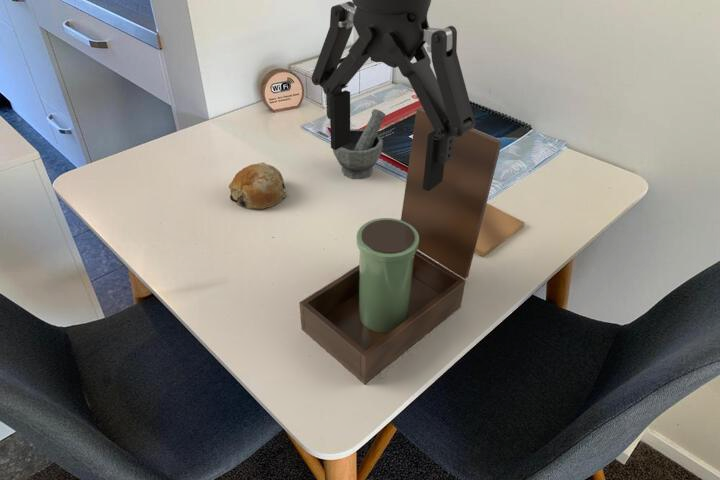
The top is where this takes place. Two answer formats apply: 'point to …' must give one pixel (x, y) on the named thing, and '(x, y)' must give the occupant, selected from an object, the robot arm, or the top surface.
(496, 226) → the cork mat
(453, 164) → the bin lid
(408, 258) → the green pot
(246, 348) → the top surface
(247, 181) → the bread roll
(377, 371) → the bin
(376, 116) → the mortar and pestle
